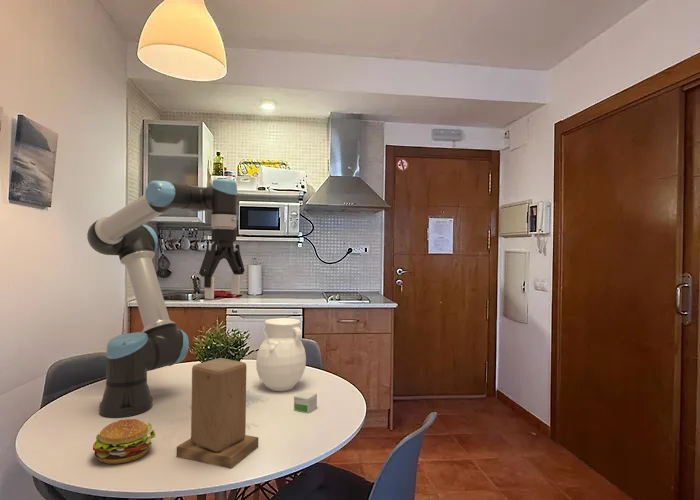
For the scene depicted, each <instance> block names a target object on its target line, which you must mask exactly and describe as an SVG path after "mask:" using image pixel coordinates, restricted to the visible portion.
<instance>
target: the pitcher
mask: <svg viewBox="0 0 700 500" xmlns="http://www.w3.org/2000/svg"><path fill="white" fill-rule="evenodd" d="M300 327H301V320H300V319H297V318H289V317H288V318H287V317H283V318H282V317H281V318H269V319H266V320H264V325H263V327H262V332H263V335H264V340H263V341H262V343H261V344H260V346H259V349H258V351H257V354H256V361H255V363H256V364H255V367H256V372H257V375H258V378H259V379H260V380H261V382H262V383H263V385H264V386H265V387H266V388H267V389H268V390H270V391H272V392H286V391H290V390H292V389H293V388H294V387H295V386H296V385H297V384H298V382H299V381H300V380H301V378H302V377H303V375H304V373H305V369H306V367H307V366H306V365H307V364H306V363H307V356H306V355H307V354H306V349H305V347H304V344H303V342H302V340H301V339H302V336H303V334H302V333H303V332H302V329H301V328H300Z"/></svg>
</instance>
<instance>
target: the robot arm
mask: <svg viewBox="0 0 700 500" xmlns="http://www.w3.org/2000/svg"><path fill="white" fill-rule="evenodd" d="M211 183H212V184H211V186H208V187H207V186H206V187H205V186H204V187H202V186H195V185H188V184H181V183H176V182H170V181H167V180H151V181H150V182H149V183H148V186H147V187H146V189H145V191H144V192H145V193H144V194H143V195H142V196H139V198H137V199H135V200H134V201H132V202H130V203H129V204H127V205H125V206H124V207H122V208H121V209H119V210H118V211H116V212H114V213H112V214H111V215H110V216H104V217H101V218H98V219H97V220H96V221H94V222H93V223H92V224H91V225H89V228H88V230H87V233H86V236H87V237H86V238H87V242H88V244H89V246H90V248H92V249H93V250H94V251H96V252H97V253H99V254H102V255H106V256H118V258H119V261H120V263H121V265H124V266H126V268H127V272H128V276H129V279H130V283H131V286H132V290H133V292H134V297H135V300H136V304H137V308H138V311H139V314H140V317H141V321H142V325H143V330H142V331H136V332H131V333H130V332H128V333H127V332H126V333H122V334H119V335H117V336H115V337H112V338H110V340H108V342H107V344H106V345H107V346H106V352H105V357H106V364H105V365H106V367H105V368H106V370H105V371H106V372H105V373H106V374H105V378H106V379H105V381H106V382H105V389H104V392H103V396H102V398H101V399H102V400H101V401H100V402H99V407H98V408H99V409H98V410H99V411H98V413H99V415H100V416H103V417H106V418H126V417H133V416H137V415H139V414H142V413H145V412H147V411H149V410H151V409H152V408H153V396H152V395H151V391H150V388H149V385H148V372H149V371H154V370H159V369H162V368H164V367H165V368H166V367H171V366H173V365H175V364H176V365H177V364H179V363H181V362H182V361H183V360H184V359H185V358H186V357H187V355H188V352H189V348H190V342H189V336H188V335H187V333H186V332H184V330H182V329H179V328H178V326H177V323H176V322H174V321H172V320H171V319H170V316H169V313H168V309H167V305H166V303H165V298H164V295H163V292H162V289H161V286H160V282H159V279H158V276H157V272H156V269H155V265H154V262H153V258H154V257H155V254H156V253H155V252H156V251H157V249H158V247H159V246H158V245H159V239H158V236H157V233H156V231H155V230H154V229H153V227H151V226H149V225H147V223H149V222H150V221H152V220H154V219H156V218H157V217H158V216H161V215H162V214H163V213H165V212H168V211H169V210H171V209H181V210H188V211H190V212H205V211H211V223H210V224H211V225H210V226H211V228H213V229H211V237H210V238H211V239H210V240H211V242H213V243H207V244H206V250H205V254H204V256H203V259H202V263H201V266H200V269H199V271H198V274H199V276H201V277H203V279H204V282H203V284H204V285H203V286H204V299H207V300H210V299H211V300H213V299H214V300H215V276H213V275H214V273H215V272H216V269H217V268H218V266H219V263H220V261H222V260H223V259H224V260H226V261H227V263H228V265H229V267H230V269H231V271H232V273H233V274H232V273H231V291H230V293H231V295H237V296H239V295H240V294H241V275H244V274H245V266H244V261H243V258H242V255H241V251H240V250H241V249H240V244H235V243H234V242H236V241H237V230H236V228H237V211H238V209H237V207H238V206H237V205H238V201H237V200H238V188H237V186H238V185H237V182H236V181H235V180H234V179H230V178H215V179H213V180H212V182H211Z"/></svg>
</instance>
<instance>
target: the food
mask: <svg viewBox="0 0 700 500" xmlns="http://www.w3.org/2000/svg"><path fill="white" fill-rule="evenodd" d="M152 428H153V427H152V424H151V423H148V424H147V423H146V422H144V421H143V420H140V419H135V418H126V419H119V420H116V421H114V422H111V423H109V424H107V425H106V426H104V427H103V429H102V430H101V431H99V433H98V434H97V435H96V436H95V439H96V441H95V442H94V443H93V445H92V450H93V451H94V455H95V457H96V458H97V460H98V461H99V462H100V463H104V464H108V465H109V464H110V465H113V464H114V465H116V464H124V463H128V462H132V461H135V460H137V459H139V458H140V459H141V458H142V457H143V456H145V455H146V454H147V453H149V449H150V446H151V444H152V442H151V440H152V439H153V438H155V437H156V433H155V430H154V429H152Z"/></svg>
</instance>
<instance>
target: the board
mask: <svg viewBox="0 0 700 500" xmlns="http://www.w3.org/2000/svg"><path fill="white" fill-rule="evenodd" d="M257 448H259V437H257V436H254V435H247V434H245V438H244V439H242V440H240V441H238V442H236V443H234V444H232V445H230V446H228V447H226V448H225V449H223V450H221V451H213V450H210V449H207V448H204V447H202V446H199V445H196V444H193V443H192V441H191V437H190V438H189V439H187V440H185V441H184V442H182V443H180V444H179V445H176V452H175V453H176V458H181V459H186V460H189V461H190V460H191V461H195V462H199V463H205V464H209V465H213V466H217V467H218V466H220V467H224V468H229V469H233V468H234V467H236V465H238V463H240V462H241V461H243V460H244V459H245V458H246V457H248V456H249V455H250V454H251V453H253V452H254V451H255V450H257Z"/></svg>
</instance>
